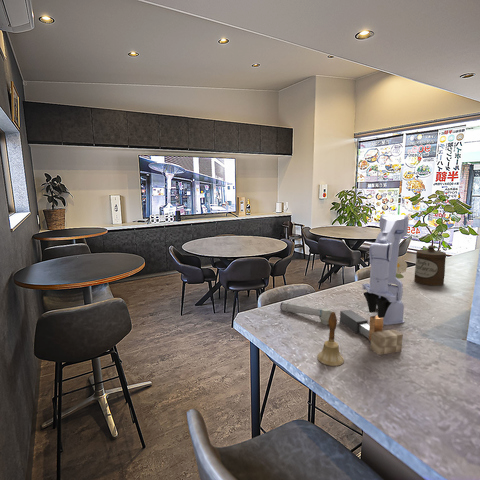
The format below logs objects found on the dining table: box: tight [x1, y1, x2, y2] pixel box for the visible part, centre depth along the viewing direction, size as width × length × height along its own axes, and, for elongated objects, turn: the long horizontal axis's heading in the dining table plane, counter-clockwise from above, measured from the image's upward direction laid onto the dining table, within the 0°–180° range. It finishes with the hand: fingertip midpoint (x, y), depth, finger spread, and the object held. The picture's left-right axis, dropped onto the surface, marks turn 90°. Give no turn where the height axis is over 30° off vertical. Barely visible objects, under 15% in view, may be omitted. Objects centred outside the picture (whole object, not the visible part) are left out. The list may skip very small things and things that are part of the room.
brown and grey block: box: [358, 315, 384, 342], centre depth 108 cm, size 4×16×9 cm, turn 14°
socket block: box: [370, 328, 404, 356], centre depth 101 cm, size 9×4×6 cm, turn 104°
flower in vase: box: [376, 256, 408, 310], centre depth 134 cm, size 13×11×25 cm
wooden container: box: [414, 244, 447, 287], centre depth 175 cm, size 15×15×22 cm
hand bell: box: [316, 311, 345, 367], centre depth 95 cm, size 8×8×16 cm
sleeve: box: [339, 309, 369, 335], centre depth 119 cm, size 5×11×5 cm, turn 14°
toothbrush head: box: [279, 301, 333, 326], centre depth 129 cm, size 5×7×25 cm
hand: (376, 314), depth 105 cm, fingers open, 4 cm apart
